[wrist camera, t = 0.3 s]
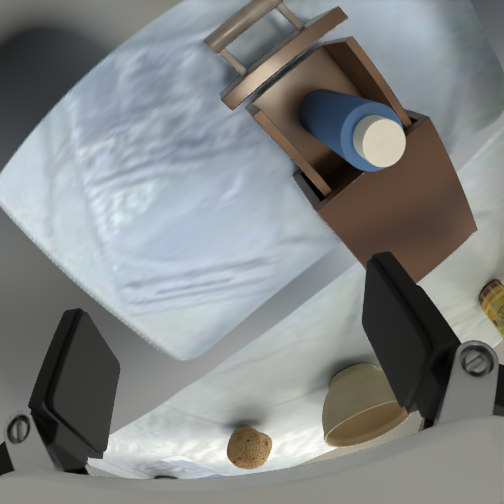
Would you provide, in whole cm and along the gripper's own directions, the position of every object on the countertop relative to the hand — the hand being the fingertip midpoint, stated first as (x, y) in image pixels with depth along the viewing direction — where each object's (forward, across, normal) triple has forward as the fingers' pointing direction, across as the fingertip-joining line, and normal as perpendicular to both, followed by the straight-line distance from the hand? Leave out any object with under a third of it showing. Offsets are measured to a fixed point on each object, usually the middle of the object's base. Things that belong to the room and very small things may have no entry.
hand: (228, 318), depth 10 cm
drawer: (+22, -8, -4) cm, 24 cm away
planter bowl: (+23, -15, +44) cm, 52 cm away
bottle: (+21, -10, -2) cm, 23 cm away
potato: (+23, +6, +55) cm, 60 cm away
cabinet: (+23, -16, +7) cm, 29 cm away
